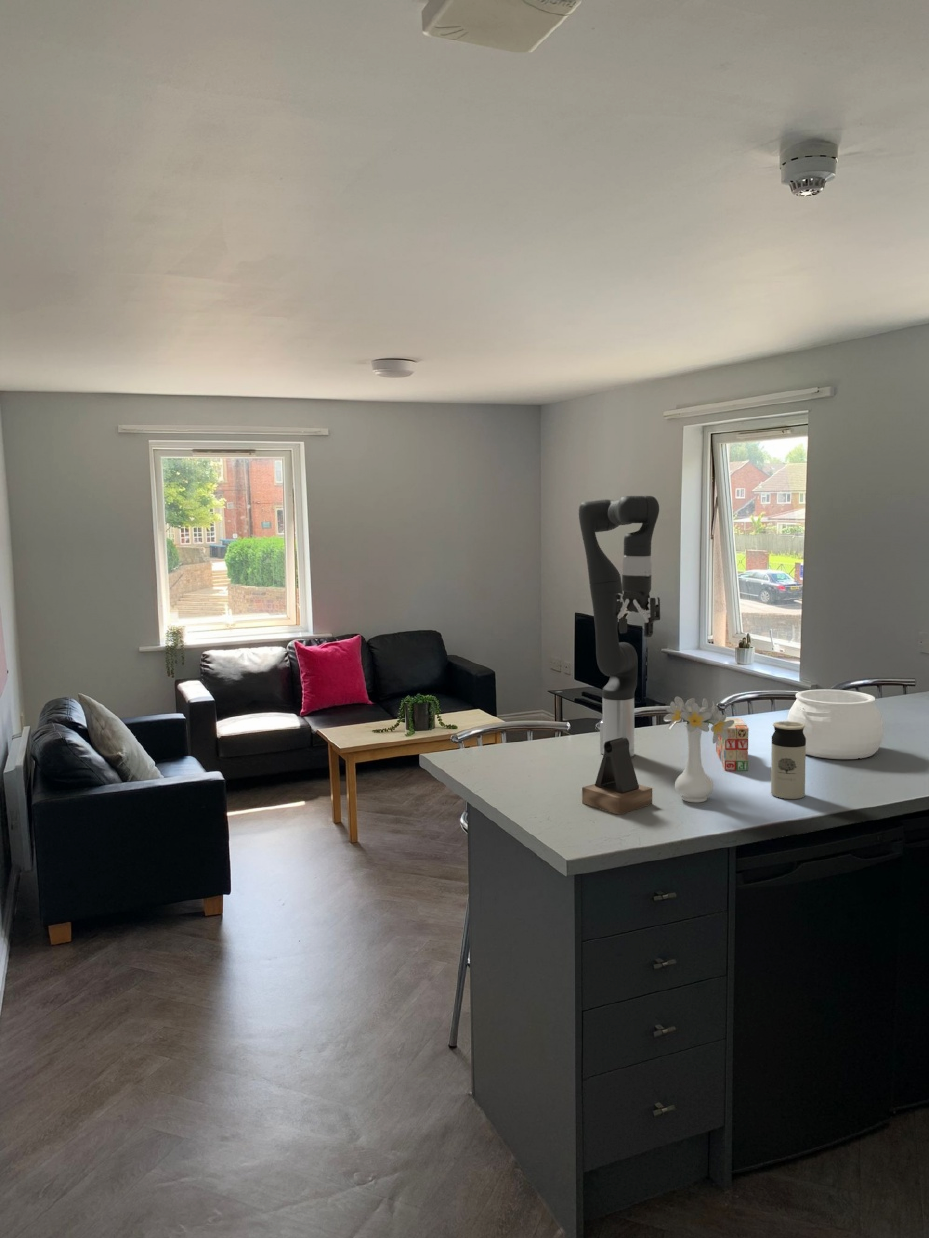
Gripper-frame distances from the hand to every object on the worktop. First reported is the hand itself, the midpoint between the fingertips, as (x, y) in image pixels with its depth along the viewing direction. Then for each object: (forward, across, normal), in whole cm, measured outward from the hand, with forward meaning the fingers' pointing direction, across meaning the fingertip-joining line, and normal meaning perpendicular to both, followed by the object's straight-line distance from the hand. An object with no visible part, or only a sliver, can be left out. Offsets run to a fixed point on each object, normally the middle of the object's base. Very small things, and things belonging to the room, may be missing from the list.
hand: (635, 634), depth 238 cm
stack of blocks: (+39, +6, +35) cm, 53 cm away
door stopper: (+35, +11, -18) cm, 41 cm away
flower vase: (+39, +22, -1) cm, 45 cm away
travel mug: (+38, +35, +18) cm, 55 cm away
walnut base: (+39, +12, -18) cm, 44 cm away
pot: (+39, +19, +66) cm, 79 cm away
